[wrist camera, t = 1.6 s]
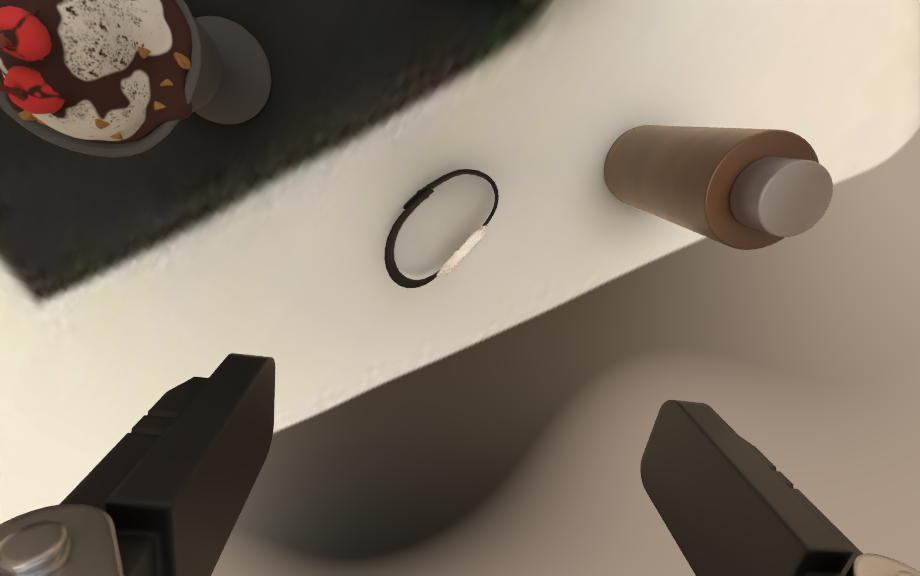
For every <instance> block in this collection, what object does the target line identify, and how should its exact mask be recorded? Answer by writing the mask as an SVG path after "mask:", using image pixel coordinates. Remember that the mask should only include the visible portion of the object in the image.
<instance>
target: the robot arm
mask: <svg viewBox="0 0 920 576" xmlns="http://www.w3.org/2000/svg"><path fill="white" fill-rule="evenodd" d="M274 396H275V362H274V359H273V358H272V357H263V356H254V355H244V354H234V353H231V354H229V355H228V356H227V357H226V358H225V359H224V361H223V362H222V363H221V364H220V365H219V367H218V368H217V369H216V370H215V371H214V372H213V374H212V375H211V376H210V377H209V378H203V377H193V378H191V379H189V380H188V381H186V382H184V383H182V384H180V385H178V386H177V387H175V388H173V389H171V390H169V391H167V392H166V393H165V394H164V395H163V396H162V397H161V399H160V400H159V401H158V402H157V403H156V404H155V405H154V406H153V407H152V408H151V409H150V410H149V411H148V415H147V416H145V415H144V416H143V417H142V418H141V420H140V421H139V422H138V423H137V424H136V425H135V426H134V427H133V428H132V431H131V433H127V434H126V435H125V436H124V437H123V438H122V439H121V440H120V442H119V443H118V444H117V445H116V446H115V447H114V448H113V449H112V450H111V451H110V452H109V453H108V454H107V455H106V456H105V457H104V458H103V459H102V460H101V461H100V463H99V464H98V465H97V466H96V467H95V468H94V469H93V470H92V471H91V472H90V473H89V474H88V475H87V476H86V477H85V478H84V479H83V480H82V481H81V482H80V484H79V485H78V486H77V487H76V488H75V489H74V490H73V491H72V492H71V493H70V494H69V495H68V496H67V497H66V498H65V499H64V500H63V501H62V502H61V503H60V505H55V506H49V507H44V508H41V509H37V510H34V511H30V512H28V513H25V514H22V515H19V516H17V517H15V518H12V519H10V520H8V521H6V522H4V523H2V524H0V576H211V574H212V572H213V570H214V568H215V566H216V563H217V561H218V559H219V557H220V555H221V553H222V551H223V549H224V546H225V544H226V542H227V540H228V538H229V536H230V534H231V532H232V530H233V527H234V525H235V523H236V521H237V519H238V517H239V515H240V513H241V510H242V508H243V506H244V504H245V502H246V500H247V498H248V495H249V493H250V491H251V489H252V487H253V485H254V483H255V481H256V479H257V477H258V474H259V472H260V470H261V468H262V466H263V464H264V462H265V460H266V457H267V454H268V452H269V448H270V445H271V440H272V435H273V427H274ZM641 478H642V482H643V485H644V488H645V490H646V492H647V494H648V495H649V497H650V499H651V500H652V502H653V503H654V505H655V507H656V509H657V510H658V512H659V514H660V516H661V517H662V519H663V521H664V522H665V524H666V526H667V527H668V529H669V531H670V532H671V534H672V536H673V538H674V539H675V541H676V543H677V544H678V546H679V548H680V549H681V551H682V553H683V555H684V556H685V558H686V560H687V561H688V562H689V565H690V566H691V568H692V570H693V571H694V573H695V575H696V576H920V572H919V571H917V570H916V569H914V568H912V567H910V566H908V565H906V564H904V563H901V562H899V561H897V560H894V559H891V558H888V557H885V556H881V555H877V554H863V553H862V552H861V551H860V550H859V549H858V548H857V547H856V546H854V544H853V543H852V542H851V541H850V540H849V539H848V538H847V537H845V536H844V535H843V533H842V532H841V531H839V529H837V527H836V526H835V525H833V524H832V523H831V522H830V521H829V520H828V519H827V518H826V517H825V516H824V515H823V514H822V513H821V512H820V511H819V510H818V509H817V508H816V507H815V506H814V505H813V504H812V503H811V502H810V501H809V500H808V499H807V498H806V497H805V496H804V495H803V494H802V493H801V492H800V491H799V490H798V489H794V488H793V484H792V483H791V482H790V481H789V480H788V479H787V478H786V477H785V476H784V475H783V474H782V473H781V472H778V471H776V467H775V466H774V465H773V464H772V463H771V462H770V461H769V460H768V459H767V458H766V457H765V456H764V455H763V454H762V453H761V452H760V451H759V450H758V449H757V448H756V447H755V446H753V445H752V444H750V443H749V442H747V441H746V440H744V439H743V438H741V437H740V436H739V435H738V434H736V433H735V431H734V430H733V429H732V428H731V427H730V426H729V425H728V424H727V423H726V422H725V421H724V420H723V419H722V418H721V417H720V416H719V415H718V414H717V413H716V412H715V411H714V410H713V409H712V408H711V407H710V406H708V405H707V404H704V403H695V402H686V401H677V400H668V401H666V402H665V403H664V404H663V405H662V406H661V408H660V411H659V413H658V416H657V419H656V421H655V424H654V427H653V429H652V432H651V435H650V437H649V441H648V443H647V446H646V448H645V451H644V454H643V457H642V460H641Z"/></svg>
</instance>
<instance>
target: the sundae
mask: <svg viewBox="0 0 920 576" xmlns="http://www.w3.org/2000/svg"><path fill="white" fill-rule="evenodd" d="M271 82H272V79H271V71H270V66H269V62H268V59H267V57H266V55H265V53H264V51H263V49H262V47H261V46H260V44H259V43H258V41H257V39H256V38H255V37H254V36H253V35H251V34H250V33H249V32H248V31H247V30H246V29H245V28H243V27H242V26H241V25H240V24H238V23H235V22H233V21H231V20H229V19H226V18H223V17H219V16H204V17H197V18H195V17H194V16H193V15H192V14H191V13H190V11H189V8H188V6H187V5H186V3H185V2H184V0H0V106H1V108H2V109H3V110H4V111H5V112H6V113H7V114H8V115H9V116H11V117H12V118H13V119H14V120H16V121H17V122H18V123H19V124H21V125H22V126H23V127H24V128H26V129H27V130H29V131H31V132H32V133H34V134H36V135H37V136H39V137H41V138H42V139H44V140H45V141H47V142H50V143H53V144H56V145H58V146H61V147H64V148H67V149H69V150H72V151H76V152H80V153H84V154H88V155H92V156H103V157H125V156H131V155H135V154H139V153H142V152H144V151H146V150H148V149H149V148H151V147H153V146H154V145H156V144H157V143H158V142H160V141H161V140H162V139H164V138H165V137H166V136H167V135H168V134H169V133H170V132H171V131H172V129H173V128H174V127H175V125H176V124H177V123H178V121H180V120H183V119H186V118H188V117H189V116H190V115H191V113H192V112H196V113H197V114H198V115H200V116H201V117H203V118H205V119H207V120H210V121H212V122H216V123H219V124H239V123H243V122H245V121H247V120H249V119H251V118H253V117H254V116H256V115H257V114H258V113H259V112H260V111H261V109H262V108H263V107H264V105H265V103H266V102H267V100H268V97H269V93H270V89H271Z"/></svg>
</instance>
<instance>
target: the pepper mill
mask: <svg viewBox="0 0 920 576" xmlns="http://www.w3.org/2000/svg"><path fill="white" fill-rule="evenodd" d="M605 179H606V183H607V186H608V188H609V189H610V191H611V192H612V194H613V195H614V196H615V197H616V198H618V199H619V200H621V201H623V202H625V203H628V204H630V205H632V206H635V207H637V208H639V209H642V210H644V211H647V212H649V213H651V214H654V215H656V216H658V217H661V218H663V219H666V220H668V221H670V222H673V223H675V224H677V225H680V226H682V227H685V228H687V229H689V230H692V231H694V232H697V233H699V234H701V235H704V236H706V237H708V238H711V239H713V240H716V241H718V242H720V243H723V244H725V245H728V246H730V247H733V248H737V249H744V250H751V249H758V248H763V247H766V246H769V245H772V244H774V243H776V242H778V241H780V240H782V239H783V238H785V237H790V236H795V235H798V234H801V233H803V232H805V231H807V230H808V229H810V228H811V227H813V226H814V225H815V224H816V223H817V222H818V221H819V220H820V219H821V218H822V216H823V215H824V214H825V212H826V210H827V208H828V207H829V204H830V202H831V198H832V192H833V184H832V179H831V176H830V174H829V173H828V171H827V170H826V169H825V168H824V167H823V166H822V165H820V164H819V161H818V158H817V155H816V153H815V151H814V150H813V148H812V147H811V145H810V144H809V143H808V142H807V141H806V140H805V139H803V138H802V137H800V136H799V135H797V134H795V133H792V132H789V131H785V130H770V129H740V128H710V127H679V126H649V125H648V126H639V127H636V128H633V129H631V130H629V131H627V132H626V133H624V134H623V135H622V136H620V137H619V138H618V139H617V140H616V142H615V143H614V144H613V146H612V147H611V149H610V151H609V153H608V155H607V158H606V162H605Z"/></svg>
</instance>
